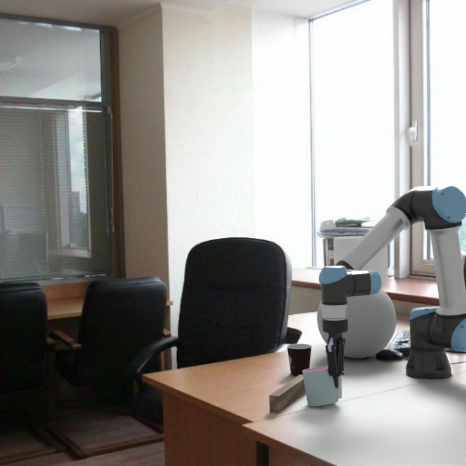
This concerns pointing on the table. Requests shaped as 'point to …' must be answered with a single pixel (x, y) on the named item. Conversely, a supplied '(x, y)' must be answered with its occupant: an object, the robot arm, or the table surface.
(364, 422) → the table surface
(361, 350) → the sphere
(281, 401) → the batten
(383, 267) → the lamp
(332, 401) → the mug
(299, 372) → the coffee mug
